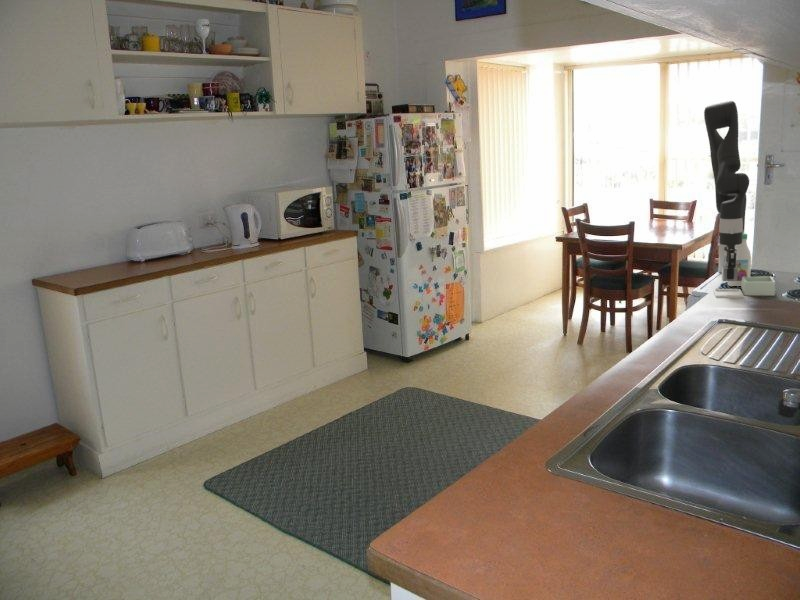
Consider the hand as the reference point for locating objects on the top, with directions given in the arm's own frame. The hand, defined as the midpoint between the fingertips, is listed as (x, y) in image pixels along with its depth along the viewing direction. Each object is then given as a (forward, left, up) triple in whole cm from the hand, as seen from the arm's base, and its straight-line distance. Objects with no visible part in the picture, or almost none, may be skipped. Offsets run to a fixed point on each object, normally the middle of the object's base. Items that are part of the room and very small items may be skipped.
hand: (729, 277), depth 249 cm
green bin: (-3, +10, -7) cm, 12 cm away
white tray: (0, 0, -7) cm, 7 cm away
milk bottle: (-15, +5, -7) cm, 17 cm away
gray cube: (0, 0, -1) cm, 1 cm away
